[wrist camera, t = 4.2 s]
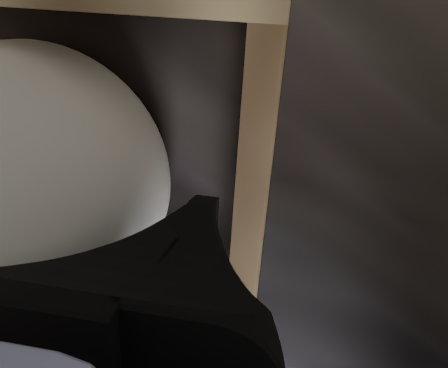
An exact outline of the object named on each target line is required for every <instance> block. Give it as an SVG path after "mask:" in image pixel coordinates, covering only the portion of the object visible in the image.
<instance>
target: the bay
mask: <svg viewBox="0 0 448 368" xmlns="http://www.w3.org/2000/svg"><path fill="white" fill-rule="evenodd" d="M290 4H291V0H0V7H13V8H29V9H45V10H60V11H76V12H91V13H107V14H122V15H138V16H153V17H169V18H184V19H200V20H216V21H231V22H247V33H246V47H245V60H244V73H243V87H242V100H241V113H240V126H239V140H238V153H237V166H236V180H235V193H234V206H233V220H232V233H231V246H230V259H229V261H230V263H231V265H232V267H233V269H234V270H235V272H236V273H237V275H238V276H239V278H240V279H241V281H242V282H243V283H244V285H245V286H246V288H247V289H248V290H249V291H250V292H251V294H252V295H254V296H255V297H256V298H257V289H258V281H259V272H260V263H261V255H262V246H263V238H264V229H265V220H266V212H267V203H268V194H269V186H270V177H271V168H272V160H273V151H274V142H275V134H276V125H277V116H278V108H279V99H280V90H281V82H282V73H283V64H284V56H285V47H286V38H287V30H288V21H289V12H290Z"/></svg>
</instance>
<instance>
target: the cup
mask: <svg viewBox="0 0 448 368" xmlns="http://www.w3.org/2000/svg"><path fill="white" fill-rule="evenodd" d="M170 189H171V179H170V168H169V162H168V156H167V153H166V149H165V146H164V143H163V140H162V138H161V135H160V133H159V130H158V128H157V126H156V124H155V122H154V121H153V119H152V117H151V115H150V113H149V112H148V111H147V109H146V108H145V106H144V105H143V103H142V102H141V101H140V99H139V98H138V97H137V96H136V95H135V93H134V92H133V91H132V90H131V89H130V88H129V87H128V86H127V85H126V84H125V83H124V82H123V81H122V80H121V79H120V78H119V77H118V76H117V75H115V74H114V73H113V72H111V71H110V70H109V69H107V68H106V67H105V66H103V65H102V64H100V63H99V62H97V61H95V60H94V59H92V58H90V57H88V56H86V55H84V54H82V53H80V52H78V51H76V50H73V49H71V48H68V47H65V46H63V45H59V44H55V43H52V42H48V41H42V40H35V39H3V40H0V267H3V266H11V265H18V264H25V263H32V262H39V261H45V260H50V259H55V258H60V257H65V256H69V255H73V254H77V253H81V252H85V251H88V250H91V249H95V248H98V247H101V246H104V245H107V244H110V243H113V242H116V241H119V240H121V239H123V238H126V237H128V236H131V235H133V234H135V233H137V232H140V231H142V230H144V229H146V228H147V227H149V226H151V225H153V224H155V223H156V222H158V221H160V220H162V219H164V218H165V217H166V214H167V211H168V206H169V200H170Z"/></svg>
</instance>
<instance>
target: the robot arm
mask: <svg viewBox="0 0 448 368" xmlns="http://www.w3.org/2000/svg"><path fill="white" fill-rule="evenodd" d="M218 209H219V198H218V197H210V196H201V195H195V196H194V197H192V198H191V199H190V200H189V202H188V203H187V204H186V205H184V206H183V207H181V208H180V209H178V210H177V211H175V212H173V213H172V214H170V215H169V216H167V217H165V218H164V219H162V220H160V221H158V222H156V223H155V224H153V225H151V226H149V227H147V228H146V229H144V230H142V231H140V232H137V233H135V234H133V235H131V236H128V237H126V238H123V239H121V240H119V241H116V242H113V243H110V244H107V245H104V246H101V247H98V248H95V249H91V250H88V251H85V252H81V253H77V254H73V255H69V256H65V257H60V258H55V259H50V260H45V261H39V262H32V263H25V264H18V265H11V266H3V267H0V368H285V363H284V357H283V352H282V348H281V343H280V340H279V336H278V333H277V329H276V326H275V323H274V320H273V317H272V313H271V312H270V311H269V309H268V308H267V307H266V306H264V305H263V304H262V303H261V302H260V301H259V300H258V299H257V298H256V297H255V296H254V295H252V294H251V292H250V291H249V290H248V289H247V288H246V286H245V285H244V283H243V282H242V281H241V279H240V278H239V276H238V275H237V273H236V272H235V270H234V269H233V267H232V265H231V263H230V261H229V259H228V257H227V255H226V253H225V250H224V248H223V245H222V242H221V239H220V235H219V231H218V227H217V225H218Z"/></svg>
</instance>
